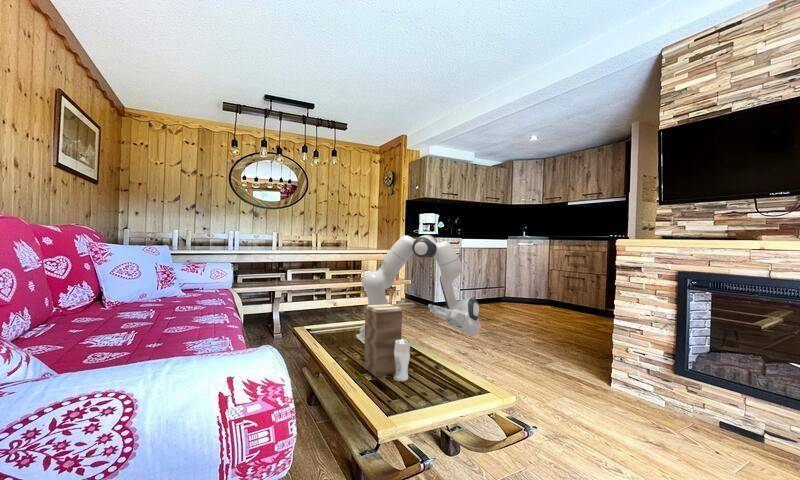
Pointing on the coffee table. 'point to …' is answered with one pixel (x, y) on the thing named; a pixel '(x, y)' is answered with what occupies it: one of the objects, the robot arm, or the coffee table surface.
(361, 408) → the coffee table surface
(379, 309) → the beige t-shaped block
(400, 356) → the beer glass
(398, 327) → the stand
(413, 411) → the coffee table surface
